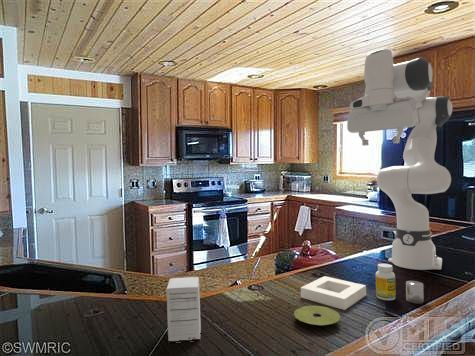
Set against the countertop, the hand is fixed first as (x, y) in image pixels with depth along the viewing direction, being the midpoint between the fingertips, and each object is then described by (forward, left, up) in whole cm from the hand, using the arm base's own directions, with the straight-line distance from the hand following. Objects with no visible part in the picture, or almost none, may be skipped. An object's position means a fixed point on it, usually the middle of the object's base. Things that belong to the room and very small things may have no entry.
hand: (380, 144), depth 105 cm
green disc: (+36, -3, -46) cm, 58 cm away
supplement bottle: (+9, +4, -46) cm, 47 cm away
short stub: (+6, +11, -46) cm, 48 cm away
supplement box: (+62, -23, -46) cm, 80 cm away
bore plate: (+18, -8, -46) cm, 50 cm away
